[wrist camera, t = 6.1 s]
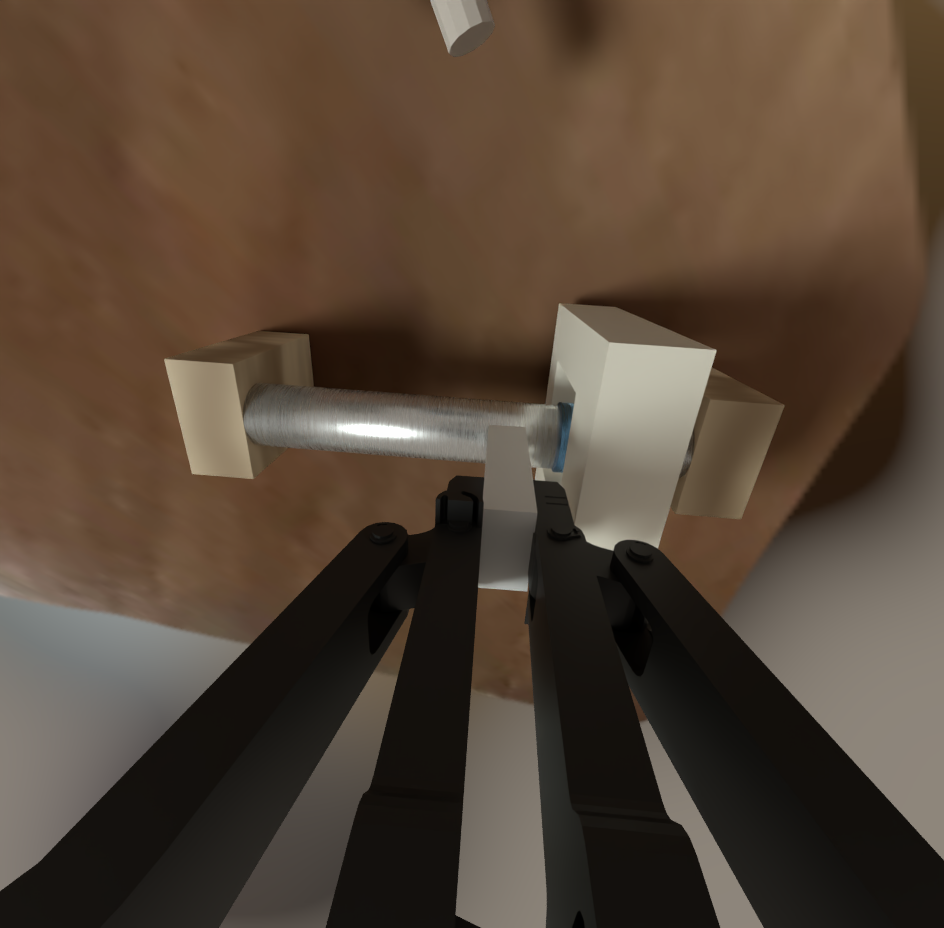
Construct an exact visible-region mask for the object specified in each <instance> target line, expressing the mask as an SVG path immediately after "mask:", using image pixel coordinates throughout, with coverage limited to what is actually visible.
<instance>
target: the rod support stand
mask: <svg viewBox="0 0 944 928" xmlns="http://www.w3.org/2000/svg"><path fill="white" fill-rule="evenodd" d="M164 360H165V365H166V369H167V373H168V377H169V381H170V385H171V389H172V393H173V397H174V401H175V405H176V409H177V413H178V418H179V422H180V426H181V430H182V434H183V438H184V442H185V446H186V450H187V454H188V458H189V462H190V467H191V471H192V474H201V475H213V476H225V477H237V478H249V479H254V478H255V477H256V476H257V475H258V474H259V473H261V472H262V471H263V470H264V469H265V468H266V467H267V466H268V465H270V464H271V463H272V462H273V461H274V460H275V459H276V458H278V457H279V456H280V455H281V454H282V453H283V452H284V451H285V450H287V449H288V448H287V447H275V446H263V445H255V444H254V443H252V442H251V441H250V440H249V438H248V436H247V434H246V432H245V428H244V423H243V407H244V402H245V398H246V395H247V393H248V391H249V390H250V388H251V387H252V386H253V385H255V384H256V383H270V384H284V385H297V386H310V387H314V382H313V372H312V362H311V352H310V342H309V334H296V333H282V332H268V331H257V332H253V333H250V334H247V335H243V336H240V337H236V338H233V339H230V340H226V341H223V342H220V343H216V344H213V345H210V346H206V347H203V348H199V349H196V350H193V351H189V352H186V353H183V354H179V355H176V356H172V357H169V358H166V359H164ZM784 406H785V405H783V404H782V403H780V402H778V401H776V400H774V399H772V398H770V397H768V396H766V395H764V394H762V393H760V392H758V391H756V390H755V389H753V388H751V387H749V386H747V385H745V384H743V383H741V382H739V381H737V380H735V379H733V378H731V377H729V376H728V375H726V374H724V373H722V372H720V371H718V370H716V369H714V368H711V371H710V374H709V378H708V381H707V385H706V388H705V391H704V395H703V398H702V401H701V405H700V408H699V411H698V415H697V418H696V421H695V425H694V434H695V446H694V453H693V458H692V461H691V464H690V466H689V468H688V470H687V472H686V473H685V475H684V476H682V477H681V478H679V479H678V482H677V485H676V489H675V492H674V495H673V499H672V502H671V506H670V507H671V508H672V510H673V511H674V513H675V514H684V515H696V516H708V517H720V518H732V519H741V518H742V515H743V513H744V510H745V507H746V505H747V502H748V500H749V497H750V494H751V492H752V489H753V487H754V484H755V481H756V479H757V476H758V474H759V471H760V469H761V466H762V463H763V461H764V458H765V456H766V453H767V450H768V448H769V445H770V443H771V440H772V437H773V435H774V432H775V430H776V427H777V424H778V422H779V419H780V417H781V414H782V411H783V409H784Z"/></svg>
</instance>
